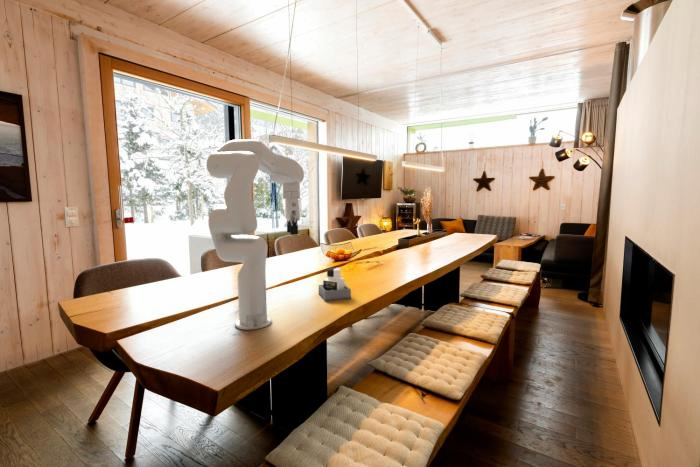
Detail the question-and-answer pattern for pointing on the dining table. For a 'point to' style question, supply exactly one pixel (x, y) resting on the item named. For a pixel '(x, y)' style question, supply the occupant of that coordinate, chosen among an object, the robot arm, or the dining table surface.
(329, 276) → the medicine bottle
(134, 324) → the dining table surface
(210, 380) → the dining table surface
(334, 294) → the grey square tray
